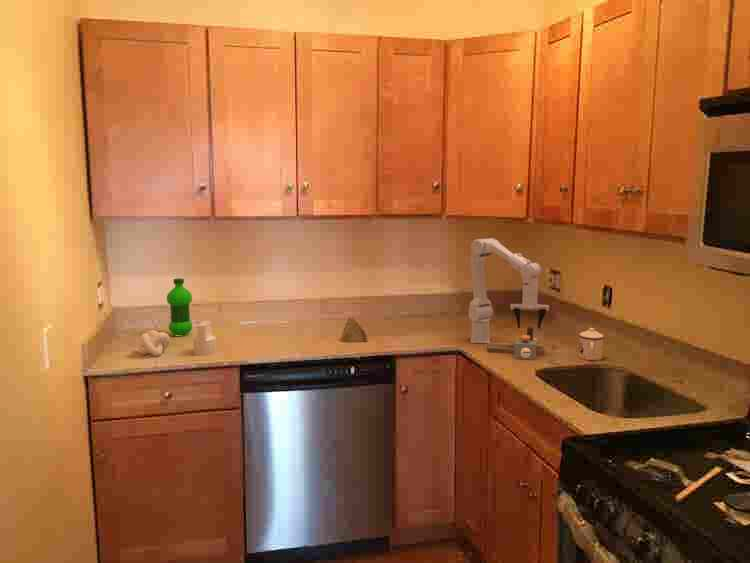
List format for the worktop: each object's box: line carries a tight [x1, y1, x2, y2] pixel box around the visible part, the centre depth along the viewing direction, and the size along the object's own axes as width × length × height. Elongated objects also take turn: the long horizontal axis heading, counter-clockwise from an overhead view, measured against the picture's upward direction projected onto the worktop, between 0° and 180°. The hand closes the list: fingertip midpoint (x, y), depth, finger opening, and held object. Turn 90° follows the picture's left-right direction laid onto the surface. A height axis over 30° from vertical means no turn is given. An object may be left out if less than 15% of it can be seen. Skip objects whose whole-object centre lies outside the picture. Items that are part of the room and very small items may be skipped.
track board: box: [487, 343, 546, 355], centre depth 254 cm, size 9×22×2 cm, turn 81°
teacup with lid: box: [578, 327, 605, 361], centre depth 242 cm, size 12×9×12 cm
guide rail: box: [489, 341, 543, 348], centre depth 254 cm, size 2×21×1 cm, turn 81°
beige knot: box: [138, 329, 171, 357], centre depth 247 cm, size 11×12×9 cm
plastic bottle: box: [166, 278, 193, 337], centre depth 276 cm, size 10×10×25 cm
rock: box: [340, 317, 368, 343], centre depth 267 cm, size 11×9×10 cm
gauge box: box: [513, 339, 537, 360], centre depth 244 cm, size 7×8×6 cm
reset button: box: [520, 334, 530, 343], centre depth 243 cm, size 4×4×2 cm
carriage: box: [526, 326, 539, 348], centre depth 252 cm, size 6×6×8 cm
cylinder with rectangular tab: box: [192, 320, 218, 357], centre depth 248 cm, size 9×9×12 cm
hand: (528, 327), depth 248 cm, fingers open, 7 cm apart
